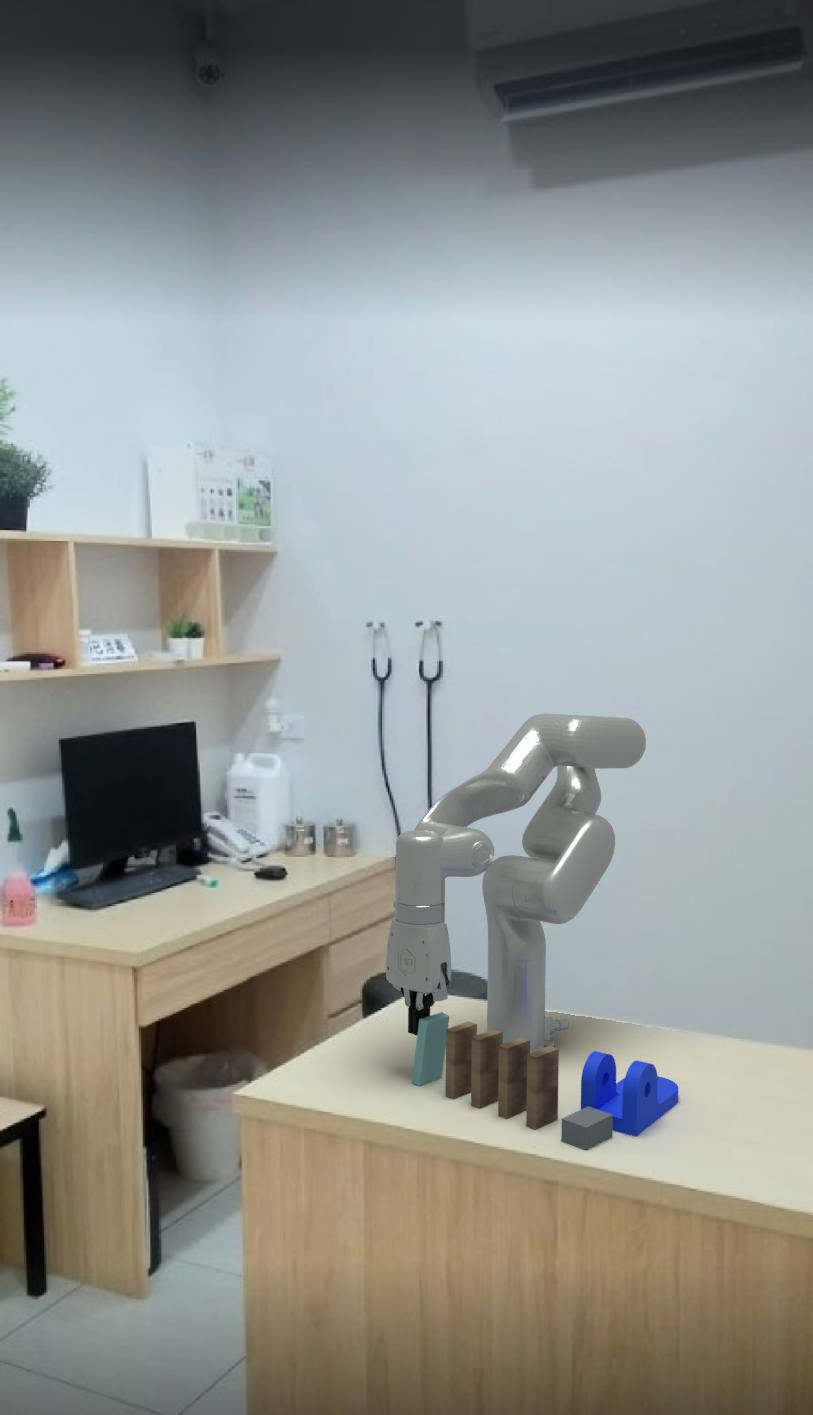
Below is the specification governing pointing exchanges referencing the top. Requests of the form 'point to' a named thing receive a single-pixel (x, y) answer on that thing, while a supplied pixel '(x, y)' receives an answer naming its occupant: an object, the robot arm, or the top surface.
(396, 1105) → the top surface
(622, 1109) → the bracket
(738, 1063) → the top surface
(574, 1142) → the block
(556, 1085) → the tile
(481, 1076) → the tile
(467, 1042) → the tile
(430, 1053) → the tile
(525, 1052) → the tile
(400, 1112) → the top surface
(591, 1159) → the top surface
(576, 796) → the robot arm
